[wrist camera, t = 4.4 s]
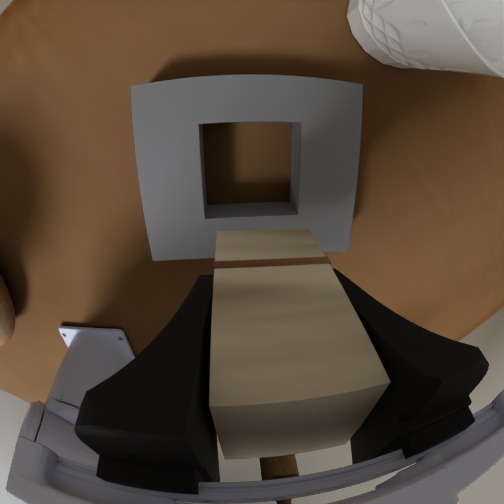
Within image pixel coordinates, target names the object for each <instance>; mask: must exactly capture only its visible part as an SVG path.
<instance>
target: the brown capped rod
mask: <svg viewBox="0 0 504 504" xmlns="http://www.w3.org/2000/svg"><path fill="white" fill-rule="evenodd" d="M260 466H261V476H262V481H263V480H273V479H282V478H289V477H296V476H299V472H298V468H297V463H296V459H295V454H290V455H282V456H273V457H263V458H260ZM291 499H292V498H291ZM291 499H284V500H276V502H277V504H291Z"/></svg>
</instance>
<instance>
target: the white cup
mask: <svg viewBox="0 0 504 504" xmlns="http://www.w3.org/2000/svg"><path fill="white" fill-rule="evenodd" d="M347 18H348V22H349V25H350V28H351V32H352V35H353V36H354V37H355V38H356V40H357V41H358V42H359V44H360V45H361V46H362V48H363V49H364V51H365V52H367V53H368V54H370V55H371V56H372V57H374V58H375V59H377V60H378V61H379V62H381V63H382V64H385V65H389V66H393V67H396V68H418V69H426V70H441V71H451V72H463V73H472V74H480V75H487V76H493V77H499V78H504V0H350V1H349V6H348V11H347Z"/></svg>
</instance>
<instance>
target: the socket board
mask: <svg viewBox="0 0 504 504" xmlns="http://www.w3.org/2000/svg"><path fill="white" fill-rule="evenodd" d="M131 103H132V119H133V132H134V143H135V153H136V162H137V170H138V178H139V185H140V192H141V199H142V205H143V211H144V217H145V223H146V228H147V234H148V239H149V244H150V249H151V254H152V259H153V261H164V260H184V259H204V258H215V250H216V236H217V231H239V230H270V229H309V230H310V232H311V233H312V235H313V237H314V238H315V240H316V242H317V243H318V245H319V247H320V248H321V250H322V252H337V251H348V245H349V239H350V233H351V226H352V219H353V212H354V204H355V196H356V187H357V178H358V168H359V157H360V144H361V128H362V104H363V84H358V83H352V82H346V81H339V80H332V79H323V78H314V77H303V76H288V75H255V74H249V75H217V76H202V77H191V78H181V79H173V80H166V81H159V82H152V83H146V84H141V85H135V86H131ZM259 121H269V122H292V137H291V178H290V201H289V202H255V203H231V204H212V205H207V193H206V178H205V162H204V144H203V124H206V123H223V122H259Z"/></svg>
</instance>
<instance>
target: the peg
mask: <svg viewBox="0 0 504 504" xmlns="http://www.w3.org/2000/svg"><path fill="white" fill-rule="evenodd" d="M330 264H331V262H330V260H329V258H328V257H325V255H324V254H323V252H322V250H321V248H320V247H319V245H318V243H317V242H316V240H315V238H314V237H313V235H312V233H311V232H310V230H309V229H270V230H239V231H217V236H216V250H215V261H213V277H214V282H213V301H212V323H211V351H210V394H209V407H210V411H211V414H212V418H213V421H214V425H215V429H216V432H217V435H218V439H219V442H220V445H221V449H222V452H223V455H224V458H225V459H249V458H263V457H273V456H282V455H290V454H297V453H303V452H310V451H315V450H321V449H326V448H331V447H335V446H340V445H344V444H346V443H347V442H348V441H349V439H350V438H351V437H352V436H353V435H354V433H355V432H356V431H357V429H358V428H359V427H360V425H361V424H362V423H363V421H364V420H365V419H366V417H367V416H368V415H369V413H370V412H371V411H372V409H373V408H374V406H375V405H376V403H377V402H378V400H379V399H380V397H381V396H382V395H383V393H384V391H385V390H386V388H387V387H388V385H389V384H390V380H389V378H388V375H387V373H386V371H385V369H384V367H383V365H382V363H381V361H380V359H379V357H378V355H377V352H376V350H375V348H374V346H373V344H372V342H371V340H370V338H369V336H368V334H367V332H366V330H365V329H364V327H363V325H362V323H361V321H360V319H359V317H358V315H357V313H356V311H355V309H354V307H353V306H352V304H351V302H350V300H349V298H348V296H347V294H346V293H345V291H344V289H343V287H342V285H341V284H340V282H339V280H338V278H337V276H336V275H335V273H334V271H333V269H332V267H331V266H330Z"/></svg>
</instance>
